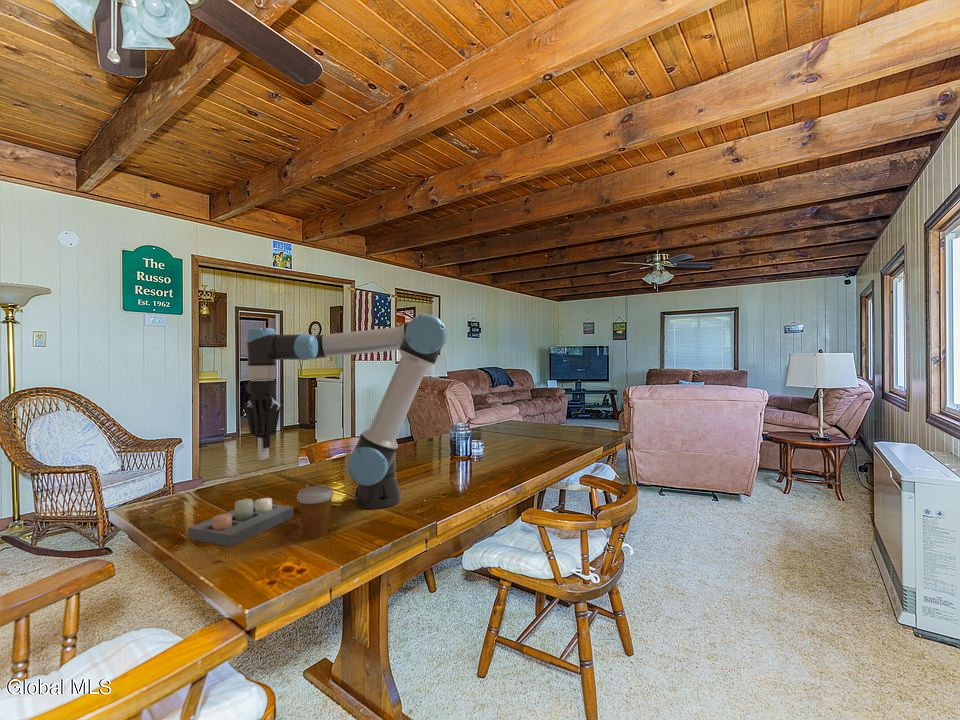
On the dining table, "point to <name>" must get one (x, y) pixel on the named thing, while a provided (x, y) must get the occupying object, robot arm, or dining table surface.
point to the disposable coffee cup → (315, 510)
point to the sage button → (243, 509)
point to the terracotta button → (222, 522)
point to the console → (241, 526)
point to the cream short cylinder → (263, 505)
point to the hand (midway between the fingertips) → (263, 458)
